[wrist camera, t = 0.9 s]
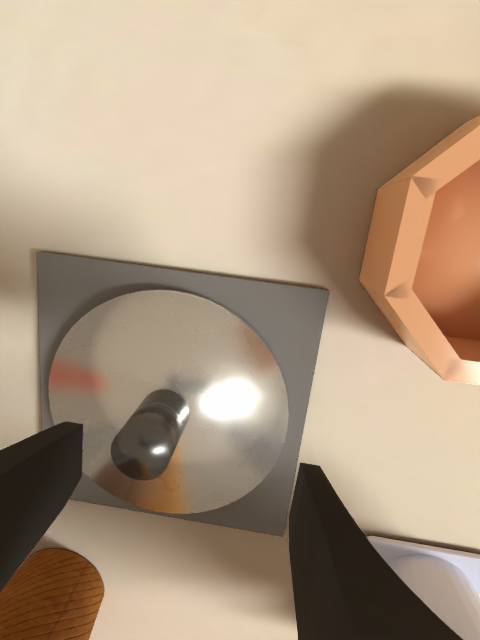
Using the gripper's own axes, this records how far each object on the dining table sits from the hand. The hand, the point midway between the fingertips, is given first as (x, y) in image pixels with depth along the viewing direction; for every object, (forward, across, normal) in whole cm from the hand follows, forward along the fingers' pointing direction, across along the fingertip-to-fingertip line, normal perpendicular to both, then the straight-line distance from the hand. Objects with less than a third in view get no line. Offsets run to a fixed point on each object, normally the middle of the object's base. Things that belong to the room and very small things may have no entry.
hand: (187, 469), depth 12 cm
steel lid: (+9, +3, +3) cm, 10 cm away
